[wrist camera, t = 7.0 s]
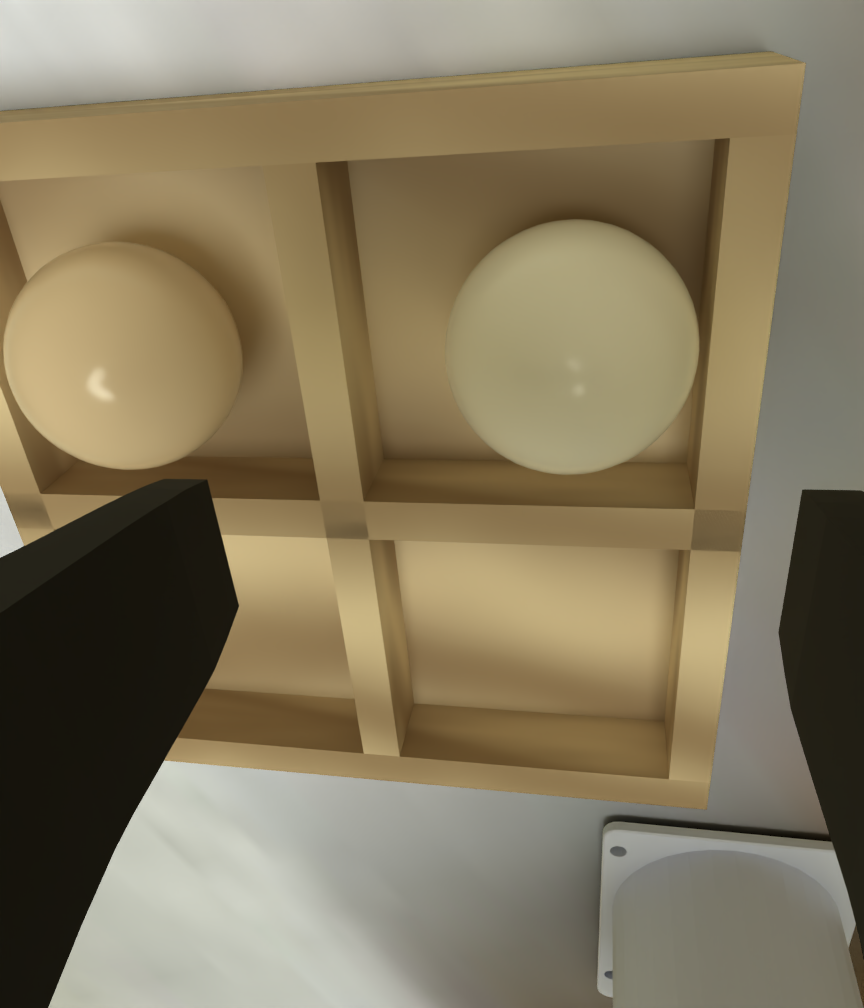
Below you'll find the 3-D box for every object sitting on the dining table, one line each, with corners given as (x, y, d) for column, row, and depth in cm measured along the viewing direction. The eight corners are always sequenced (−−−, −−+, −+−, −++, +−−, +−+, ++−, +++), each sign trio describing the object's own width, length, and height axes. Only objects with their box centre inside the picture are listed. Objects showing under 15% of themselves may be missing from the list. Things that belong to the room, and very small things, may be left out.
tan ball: (288, 412, 20) (211, 514, 16) (113, 412, 21) (0, 508, 17) (252, 213, 17) (151, 275, 14) (56, 222, 18) (-91, 282, 14)
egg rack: (695, 718, 24) (706, 809, 21) (156, 680, 27) (107, 755, 25) (771, 51, 15) (805, 63, 13) (-32, 113, 19) (-140, 133, 16)
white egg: (626, 396, 19) (740, 488, 15) (431, 437, 18) (498, 544, 14) (629, 183, 16) (766, 226, 13) (406, 219, 16) (478, 277, 12)
